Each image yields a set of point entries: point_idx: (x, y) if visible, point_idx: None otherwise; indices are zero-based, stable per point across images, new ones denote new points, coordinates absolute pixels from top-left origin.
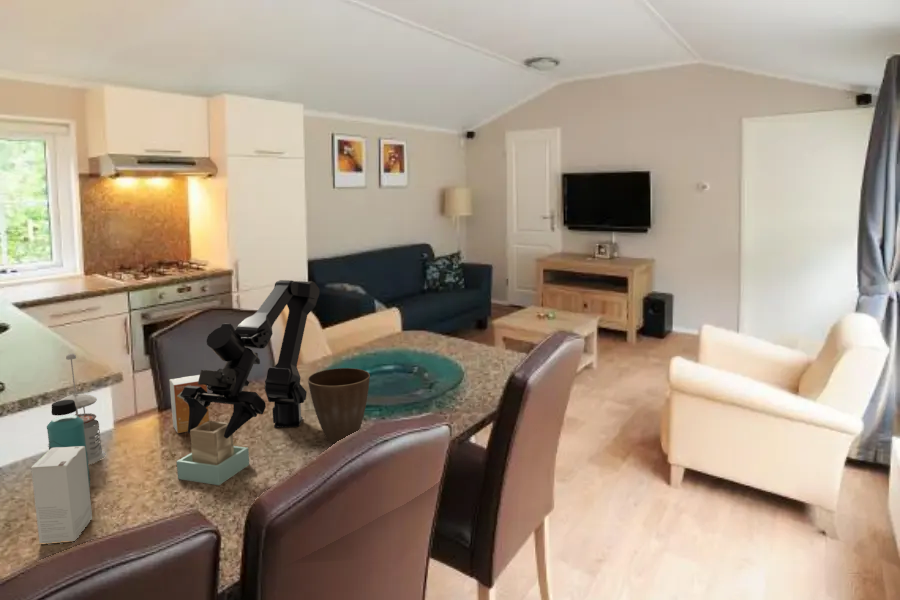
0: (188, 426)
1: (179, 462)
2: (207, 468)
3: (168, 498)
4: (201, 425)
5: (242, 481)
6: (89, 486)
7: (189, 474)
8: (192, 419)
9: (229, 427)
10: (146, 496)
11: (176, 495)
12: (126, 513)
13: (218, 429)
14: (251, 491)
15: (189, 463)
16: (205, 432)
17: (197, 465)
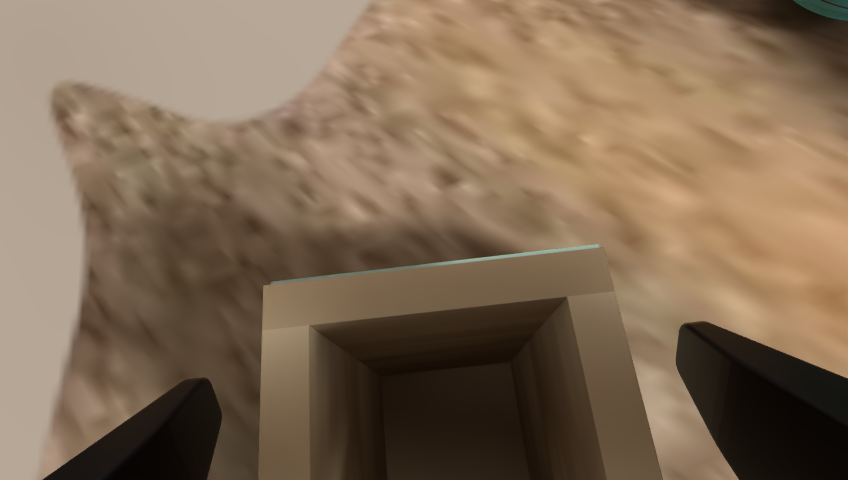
0: (758, 345)
1: (573, 249)
2: None
3: (438, 131)
4: (622, 437)
5: None
6: (805, 3)
7: None
8: (811, 403)
9: (97, 447)
10: (543, 107)
11: (427, 161)
12: (488, 5)
13: (287, 408)
14: (106, 324)
15: (492, 256)
16: (379, 272)
17: (428, 265)
